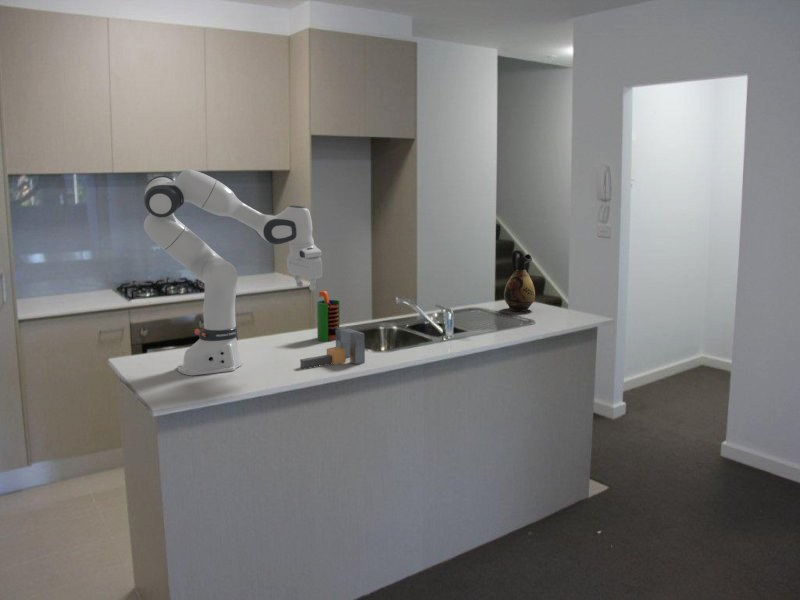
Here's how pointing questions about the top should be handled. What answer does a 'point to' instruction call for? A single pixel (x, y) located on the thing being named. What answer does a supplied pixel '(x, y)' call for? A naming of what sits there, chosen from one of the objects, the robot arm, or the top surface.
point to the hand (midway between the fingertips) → (306, 288)
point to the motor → (327, 317)
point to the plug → (325, 358)
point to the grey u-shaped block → (351, 344)
